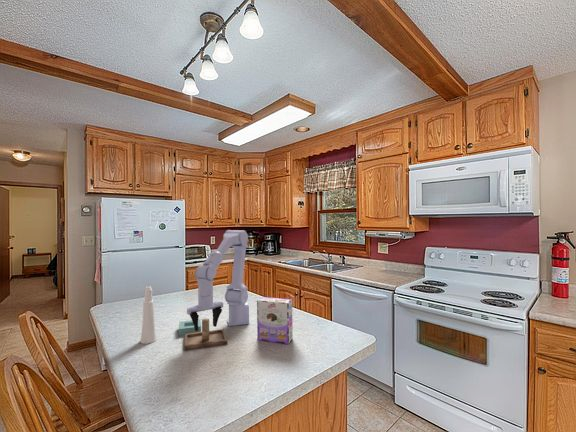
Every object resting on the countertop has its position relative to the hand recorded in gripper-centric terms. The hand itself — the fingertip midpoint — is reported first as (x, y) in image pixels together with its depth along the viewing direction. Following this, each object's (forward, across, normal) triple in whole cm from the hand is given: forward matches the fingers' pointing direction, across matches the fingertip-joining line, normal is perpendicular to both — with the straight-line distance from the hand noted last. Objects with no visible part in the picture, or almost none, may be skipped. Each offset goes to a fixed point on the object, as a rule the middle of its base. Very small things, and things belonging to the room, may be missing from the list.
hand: (205, 328), depth 115 cm
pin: (+5, 0, 0) cm, 5 cm away
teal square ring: (+5, +2, -14) cm, 15 cm away
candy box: (+6, -24, +16) cm, 29 cm away
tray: (+5, 0, 0) cm, 5 cm away
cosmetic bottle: (+5, +19, -14) cm, 24 cm away
